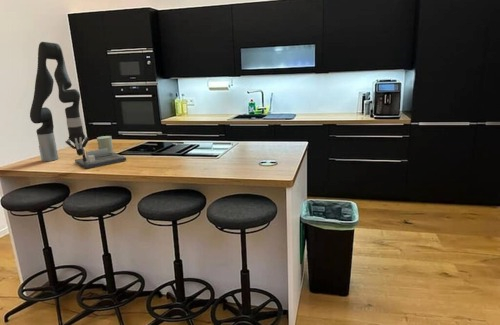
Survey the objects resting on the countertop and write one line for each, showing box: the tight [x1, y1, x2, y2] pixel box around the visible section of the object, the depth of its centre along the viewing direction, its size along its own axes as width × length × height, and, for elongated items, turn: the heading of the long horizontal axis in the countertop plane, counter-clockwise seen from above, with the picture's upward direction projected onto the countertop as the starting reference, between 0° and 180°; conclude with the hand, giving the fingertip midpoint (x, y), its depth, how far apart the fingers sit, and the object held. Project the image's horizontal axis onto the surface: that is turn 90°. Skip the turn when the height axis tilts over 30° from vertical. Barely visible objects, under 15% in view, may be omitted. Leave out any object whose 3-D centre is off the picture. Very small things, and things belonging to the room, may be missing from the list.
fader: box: [86, 155, 95, 162], centre depth 209 cm, size 3×4×4 cm
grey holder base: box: [74, 147, 127, 170], centre depth 217 cm, size 24×20×10 cm
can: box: [96, 135, 114, 153], centre depth 236 cm, size 9×9×12 cm
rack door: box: [85, 148, 109, 158], centre depth 221 cm, size 13×2×4 cm, turn 131°
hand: (80, 155), depth 204 cm, fingers closed
